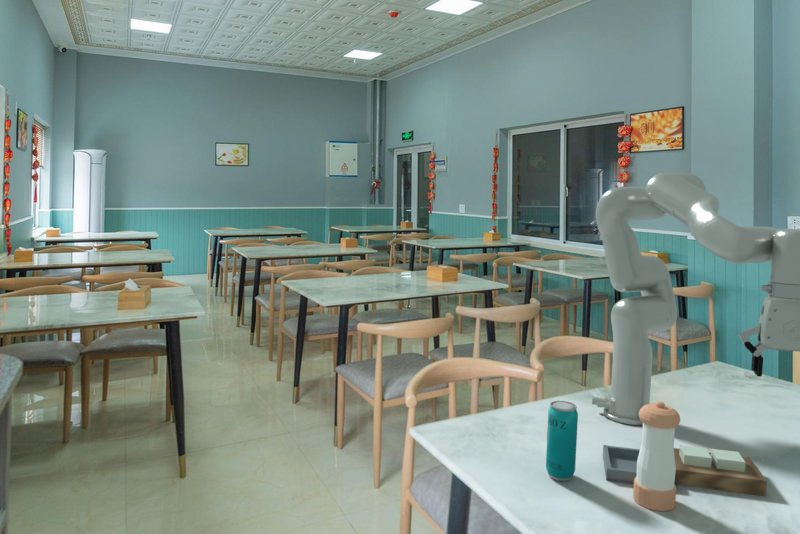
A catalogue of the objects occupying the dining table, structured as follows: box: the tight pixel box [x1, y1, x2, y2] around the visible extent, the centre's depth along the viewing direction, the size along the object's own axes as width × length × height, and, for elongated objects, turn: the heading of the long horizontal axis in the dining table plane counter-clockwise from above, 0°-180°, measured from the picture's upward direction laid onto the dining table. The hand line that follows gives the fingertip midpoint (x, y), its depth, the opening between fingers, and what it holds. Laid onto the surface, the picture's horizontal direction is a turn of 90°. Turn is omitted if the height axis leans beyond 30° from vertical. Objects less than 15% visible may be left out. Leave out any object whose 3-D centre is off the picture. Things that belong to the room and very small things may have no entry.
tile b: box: [678, 444, 712, 468], centre depth 118 cm, size 5×5×2 cm
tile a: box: [710, 448, 746, 472], centre depth 117 cm, size 5×5×2 cm
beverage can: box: [545, 400, 579, 482], centre depth 117 cm, size 6×6×15 cm
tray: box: [602, 444, 676, 485], centre depth 120 cm, size 13×12×2 cm
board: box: [674, 447, 768, 497], centre depth 118 cm, size 16×11×3 cm
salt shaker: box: [632, 401, 681, 512], centre depth 107 cm, size 7×7×19 cm
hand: (785, 377), depth 115 cm, fingers open, 9 cm apart
